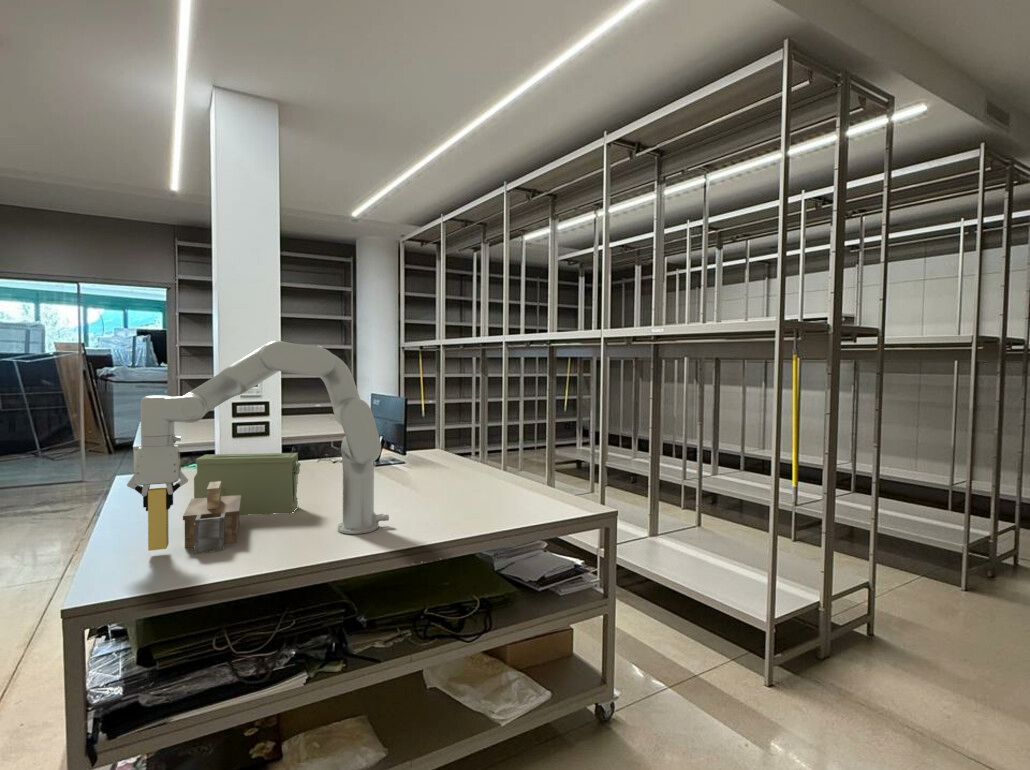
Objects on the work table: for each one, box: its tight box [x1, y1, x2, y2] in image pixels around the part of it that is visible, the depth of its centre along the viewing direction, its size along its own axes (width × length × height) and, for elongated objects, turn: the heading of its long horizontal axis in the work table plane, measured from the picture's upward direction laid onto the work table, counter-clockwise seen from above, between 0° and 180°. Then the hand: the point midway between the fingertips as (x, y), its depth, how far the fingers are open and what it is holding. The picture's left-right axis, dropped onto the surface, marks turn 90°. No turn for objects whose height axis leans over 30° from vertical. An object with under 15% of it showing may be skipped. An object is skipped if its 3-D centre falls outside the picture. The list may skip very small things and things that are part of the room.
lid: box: [182, 481, 241, 525], centre depth 161 cm, size 14×27×8 cm, turn 25°
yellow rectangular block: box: [147, 486, 170, 551], centre depth 146 cm, size 4×4×16 cm
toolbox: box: [184, 512, 241, 554], centre depth 161 cm, size 13×26×8 cm, turn 25°
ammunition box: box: [193, 452, 301, 516], centre depth 190 cm, size 10×33×20 cm, turn 101°
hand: (158, 508), depth 146 cm, fingers closed on yellow rectangular block, 3 cm apart
